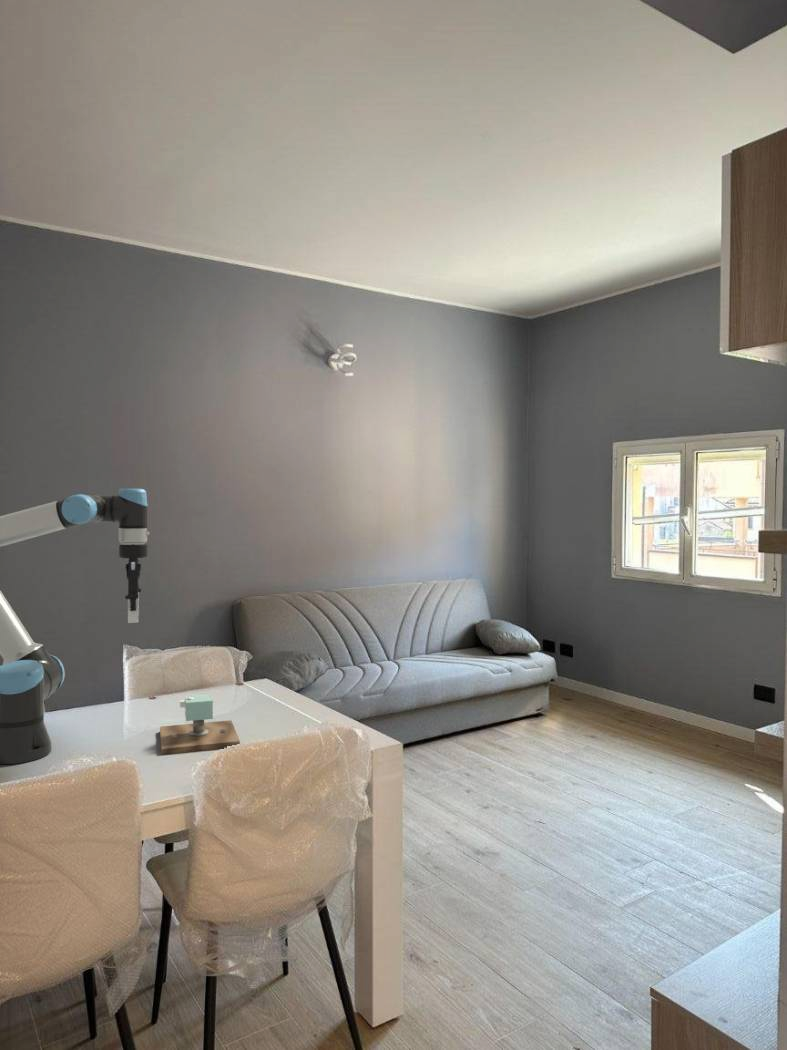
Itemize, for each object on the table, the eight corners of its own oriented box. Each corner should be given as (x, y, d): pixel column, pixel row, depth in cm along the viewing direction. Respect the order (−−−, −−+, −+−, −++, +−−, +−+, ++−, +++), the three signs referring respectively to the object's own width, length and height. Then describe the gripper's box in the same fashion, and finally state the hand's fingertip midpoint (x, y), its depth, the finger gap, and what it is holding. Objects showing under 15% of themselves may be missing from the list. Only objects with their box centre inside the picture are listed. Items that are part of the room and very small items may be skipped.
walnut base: (161, 754, 188) (161, 731, 188) (160, 731, 207) (160, 710, 207) (239, 746, 195) (239, 724, 195) (231, 725, 214) (231, 705, 214)
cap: (210, 711, 205) (210, 693, 205) (212, 718, 199) (212, 699, 199) (179, 714, 203) (179, 695, 203) (180, 721, 196) (180, 702, 196)
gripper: (147, 545, 193) (147, 625, 194) (147, 541, 217) (147, 612, 217) (117, 546, 191) (117, 626, 191) (120, 541, 214) (120, 613, 215)
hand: (133, 619), depth 204 cm, fingers open, 13 cm apart
